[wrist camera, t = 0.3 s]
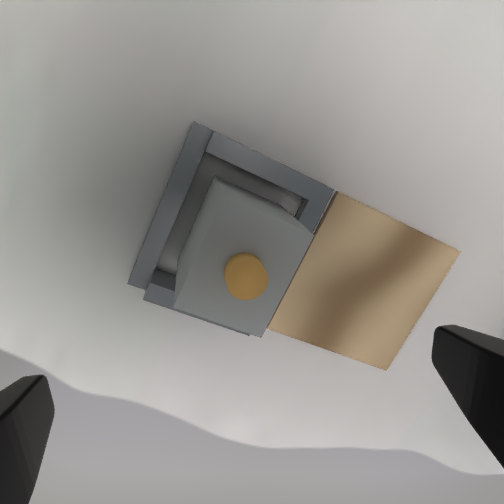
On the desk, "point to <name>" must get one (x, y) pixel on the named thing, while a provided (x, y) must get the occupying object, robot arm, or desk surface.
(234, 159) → the grey square frame
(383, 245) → the cork pad
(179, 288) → the cable plug
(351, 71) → the desk surface
